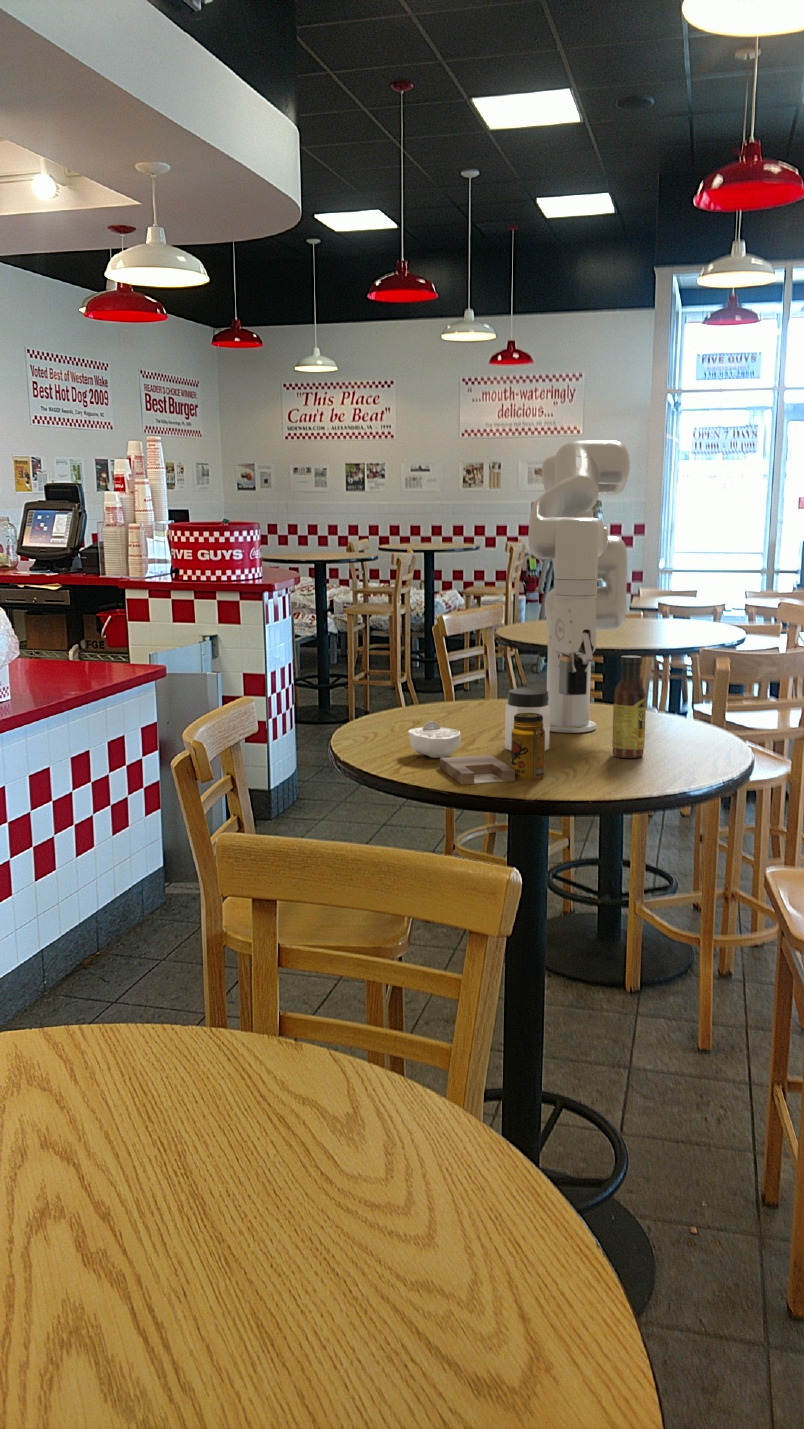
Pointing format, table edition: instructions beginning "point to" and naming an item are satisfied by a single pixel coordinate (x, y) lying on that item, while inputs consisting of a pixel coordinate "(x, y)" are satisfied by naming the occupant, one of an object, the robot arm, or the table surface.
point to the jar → (526, 710)
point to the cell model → (434, 740)
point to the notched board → (477, 769)
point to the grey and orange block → (566, 674)
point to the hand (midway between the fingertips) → (572, 691)
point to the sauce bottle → (629, 710)
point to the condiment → (528, 747)
